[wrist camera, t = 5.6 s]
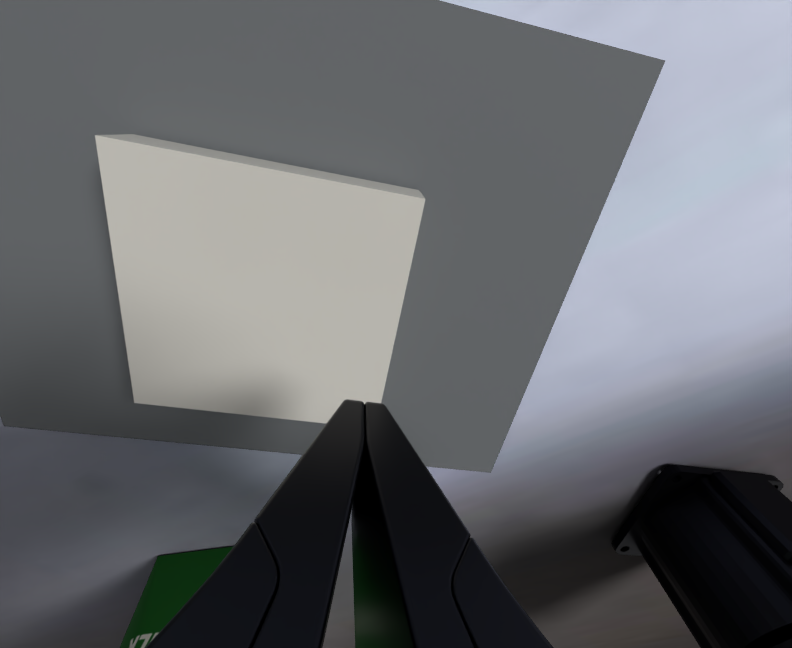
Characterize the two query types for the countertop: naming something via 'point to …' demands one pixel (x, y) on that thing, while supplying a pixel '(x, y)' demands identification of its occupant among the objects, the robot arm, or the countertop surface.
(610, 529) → the countertop surface
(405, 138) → the mat
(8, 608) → the countertop surface
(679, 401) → the countertop surface
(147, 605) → the milk carton
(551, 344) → the countertop surface
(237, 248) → the tile
